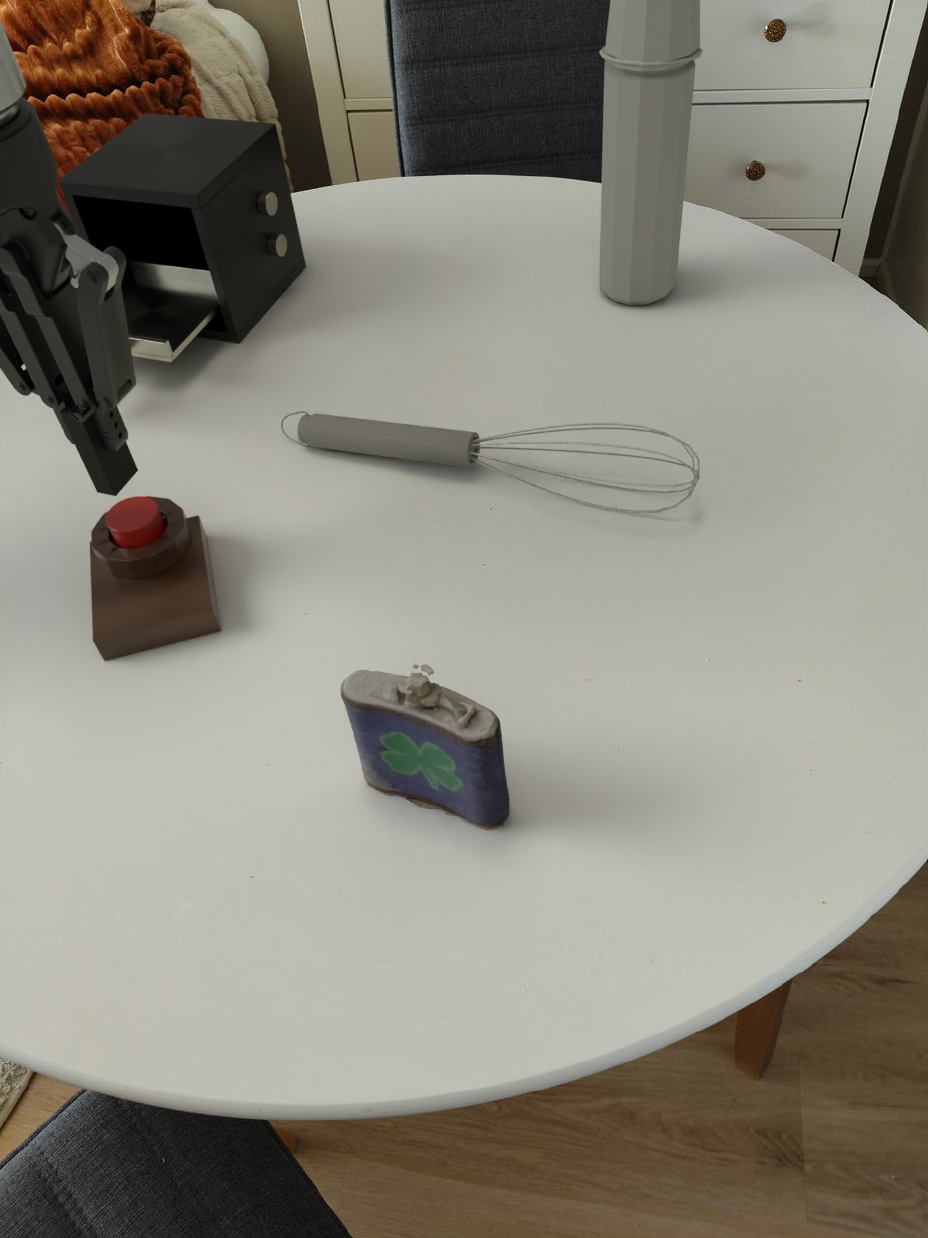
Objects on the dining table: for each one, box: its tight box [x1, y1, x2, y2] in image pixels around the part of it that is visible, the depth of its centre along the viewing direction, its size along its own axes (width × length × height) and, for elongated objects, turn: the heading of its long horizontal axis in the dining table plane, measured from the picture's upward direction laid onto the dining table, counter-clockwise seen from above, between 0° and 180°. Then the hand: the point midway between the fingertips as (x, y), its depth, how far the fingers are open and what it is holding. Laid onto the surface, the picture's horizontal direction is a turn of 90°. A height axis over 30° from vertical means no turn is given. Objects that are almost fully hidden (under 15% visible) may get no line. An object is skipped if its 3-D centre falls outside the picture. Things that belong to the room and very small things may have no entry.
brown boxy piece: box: [89, 495, 222, 662], centre depth 70 cm, size 11×8×4 cm
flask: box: [340, 663, 511, 830], centre depth 54 cm, size 9×3×11 cm, turn 65°
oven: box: [57, 112, 307, 344], centre depth 92 cm, size 15×14×14 cm
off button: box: [106, 495, 165, 549], centre depth 69 cm, size 4×4×2 cm
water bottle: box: [598, 0, 704, 306], centre depth 84 cm, size 9×8×25 cm
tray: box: [121, 258, 221, 363], centre depth 84 cm, size 11×19×10 cm, turn 160°
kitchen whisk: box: [280, 410, 701, 514], centre depth 74 cm, size 6×34×6 cm, turn 69°
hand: (117, 480), depth 66 cm, fingers closed
